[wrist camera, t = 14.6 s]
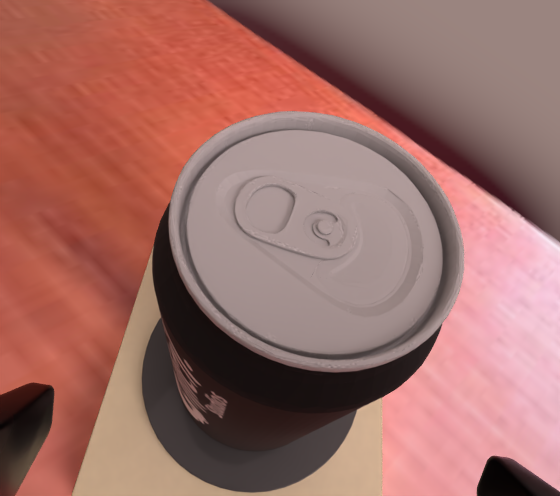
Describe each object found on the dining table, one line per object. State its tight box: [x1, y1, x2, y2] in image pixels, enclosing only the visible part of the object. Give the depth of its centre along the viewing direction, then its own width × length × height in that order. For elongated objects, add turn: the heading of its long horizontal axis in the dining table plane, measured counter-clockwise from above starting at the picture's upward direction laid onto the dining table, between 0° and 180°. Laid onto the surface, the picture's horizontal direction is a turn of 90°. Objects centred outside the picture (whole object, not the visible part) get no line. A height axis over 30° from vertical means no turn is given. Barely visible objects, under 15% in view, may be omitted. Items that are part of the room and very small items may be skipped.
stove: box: [71, 246, 382, 496], centre depth 19 cm, size 12×12×3 cm
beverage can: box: [152, 111, 464, 451], centre depth 13 cm, size 7×7×12 cm
